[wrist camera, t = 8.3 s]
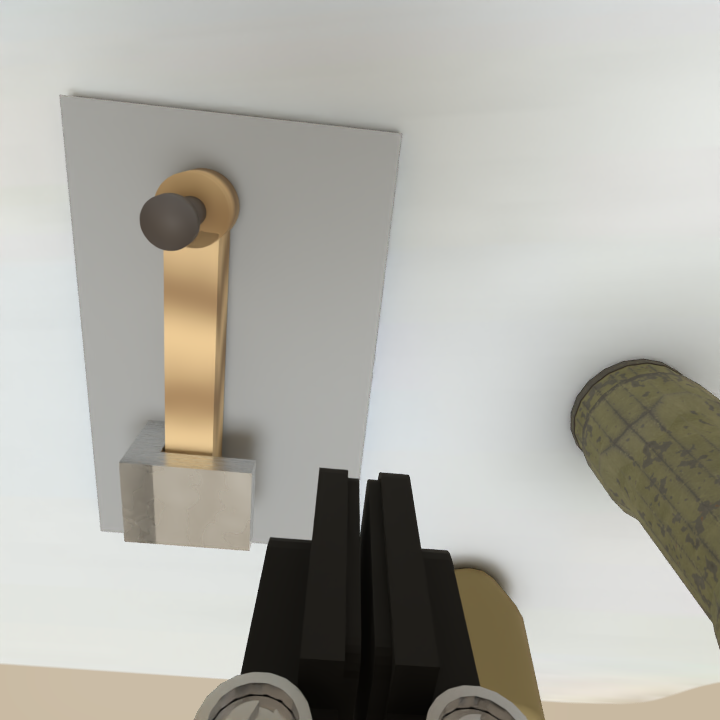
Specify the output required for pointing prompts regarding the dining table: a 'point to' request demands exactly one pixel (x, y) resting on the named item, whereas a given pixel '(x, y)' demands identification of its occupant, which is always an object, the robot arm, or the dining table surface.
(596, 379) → the olive green pillar
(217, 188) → the oak link
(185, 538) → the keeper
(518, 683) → the squeeze bottle
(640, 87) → the dining table surface
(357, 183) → the base plate
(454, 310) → the dining table surface
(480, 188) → the dining table surface
